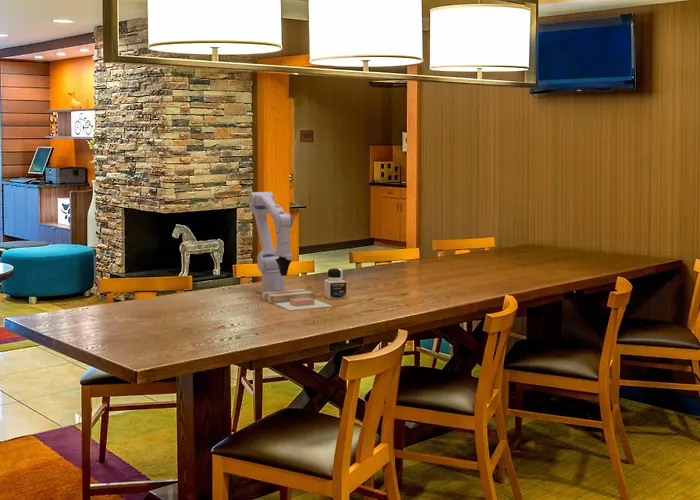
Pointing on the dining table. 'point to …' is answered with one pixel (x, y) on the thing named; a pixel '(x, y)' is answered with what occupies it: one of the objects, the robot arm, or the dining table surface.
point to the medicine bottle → (335, 284)
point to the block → (302, 301)
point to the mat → (292, 308)
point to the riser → (286, 295)
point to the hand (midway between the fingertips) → (283, 275)
